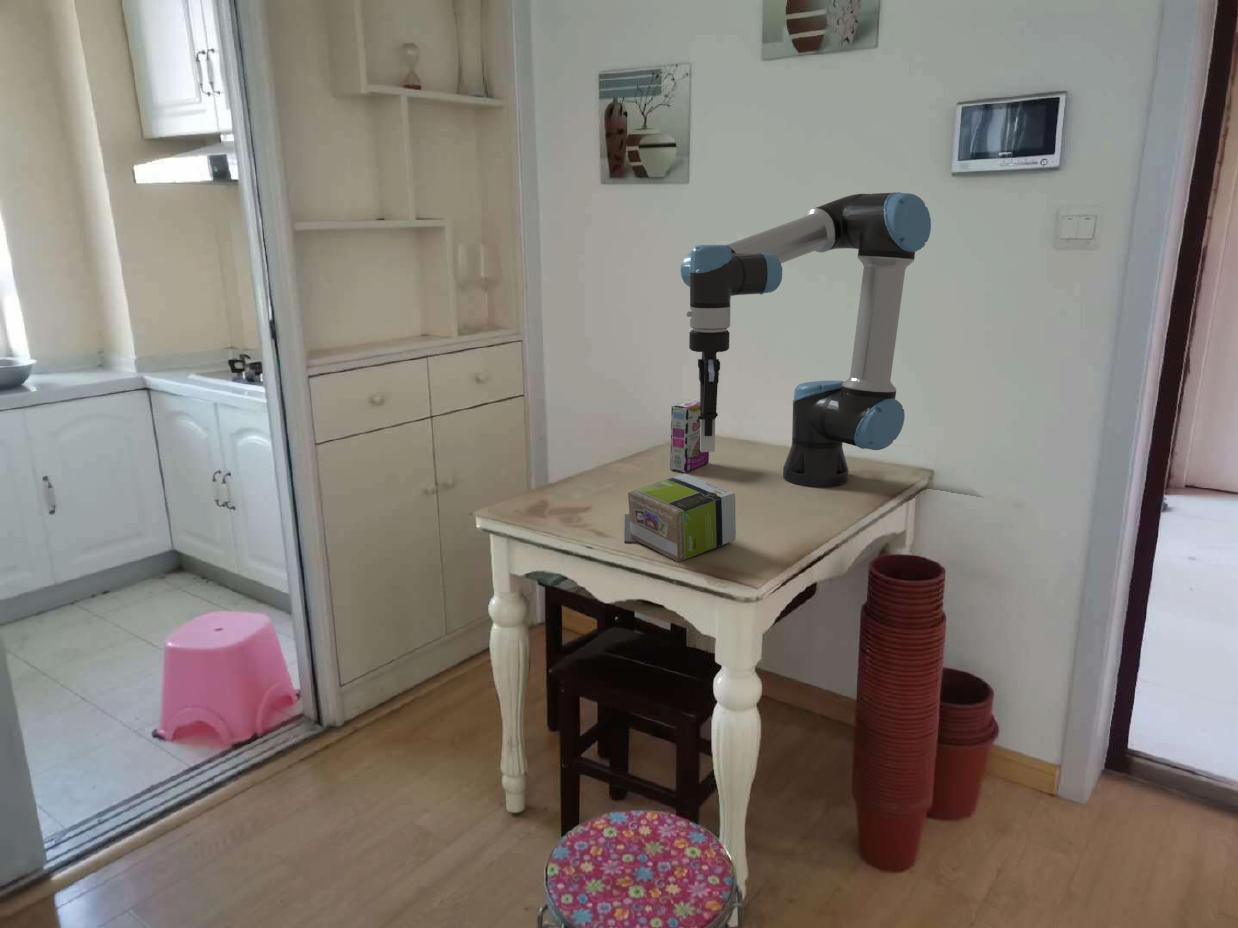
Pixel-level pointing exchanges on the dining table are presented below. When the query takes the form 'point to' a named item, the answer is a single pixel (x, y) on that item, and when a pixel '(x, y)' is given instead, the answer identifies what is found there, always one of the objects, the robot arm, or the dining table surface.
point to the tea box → (682, 516)
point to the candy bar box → (686, 437)
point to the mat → (628, 531)
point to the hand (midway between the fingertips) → (707, 450)
